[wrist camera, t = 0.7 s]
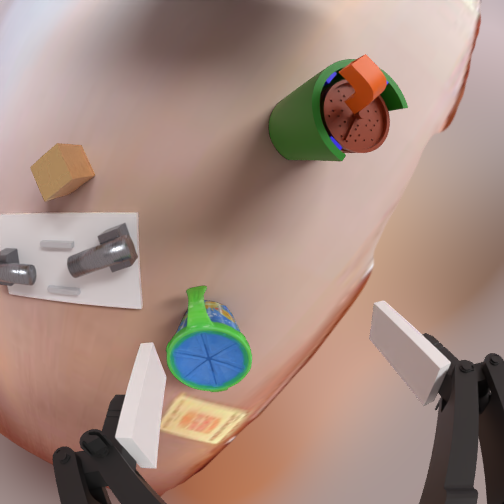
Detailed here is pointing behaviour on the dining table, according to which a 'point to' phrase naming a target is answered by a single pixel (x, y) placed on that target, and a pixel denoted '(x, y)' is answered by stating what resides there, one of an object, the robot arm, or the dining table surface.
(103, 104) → the dining table surface
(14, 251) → the shaft
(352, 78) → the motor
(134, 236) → the base plate
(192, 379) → the snack cup
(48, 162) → the block
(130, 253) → the shaft
